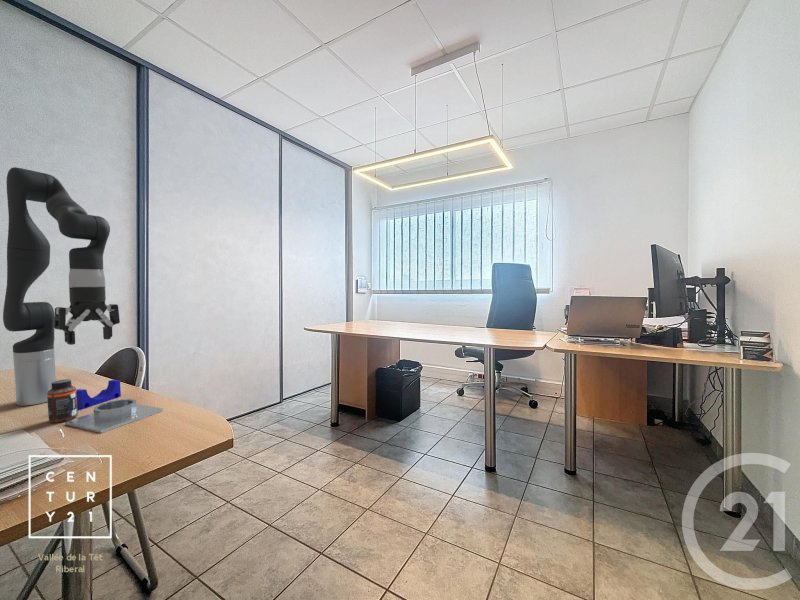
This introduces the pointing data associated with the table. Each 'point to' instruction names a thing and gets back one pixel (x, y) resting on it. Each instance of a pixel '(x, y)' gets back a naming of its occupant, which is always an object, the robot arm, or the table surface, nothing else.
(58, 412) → the supplement bottle
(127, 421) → the duct panel
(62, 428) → the table surface
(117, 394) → the blue notched bracket
